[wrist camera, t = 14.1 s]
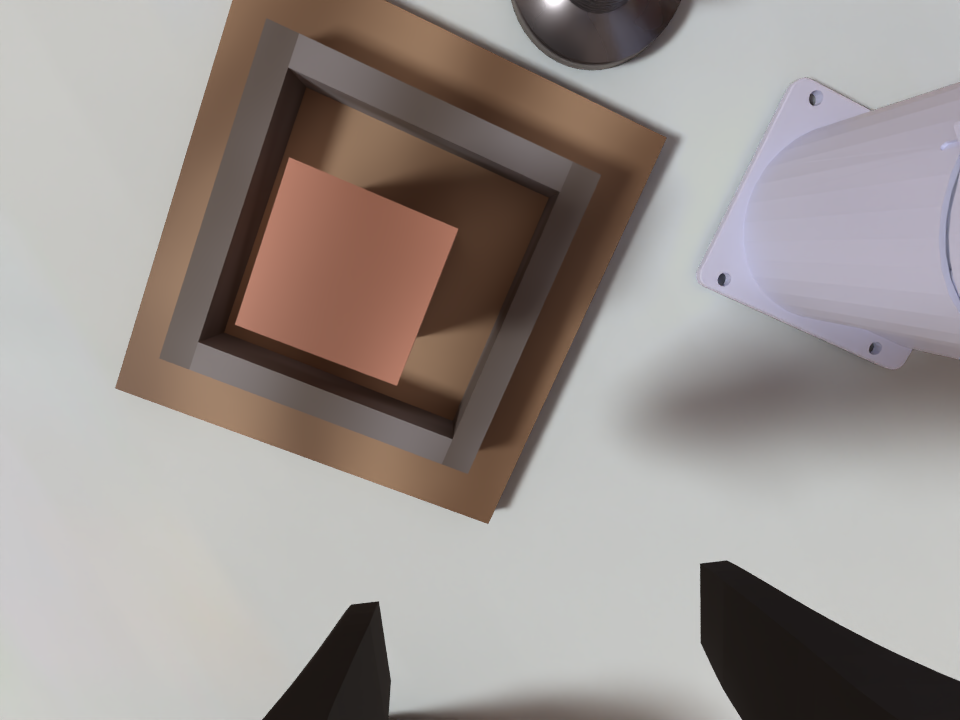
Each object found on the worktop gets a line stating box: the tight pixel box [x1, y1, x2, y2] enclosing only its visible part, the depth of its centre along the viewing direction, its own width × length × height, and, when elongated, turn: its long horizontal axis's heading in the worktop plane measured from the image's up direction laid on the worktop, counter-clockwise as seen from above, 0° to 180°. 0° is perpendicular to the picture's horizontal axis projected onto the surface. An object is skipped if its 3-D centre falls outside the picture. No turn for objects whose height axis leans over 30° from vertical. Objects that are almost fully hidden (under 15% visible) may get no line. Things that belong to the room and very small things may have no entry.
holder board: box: [115, 0, 666, 524], centre depth 19 cm, size 15×16×3 cm
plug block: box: [235, 157, 458, 386], centre depth 16 cm, size 4×4×7 cm
